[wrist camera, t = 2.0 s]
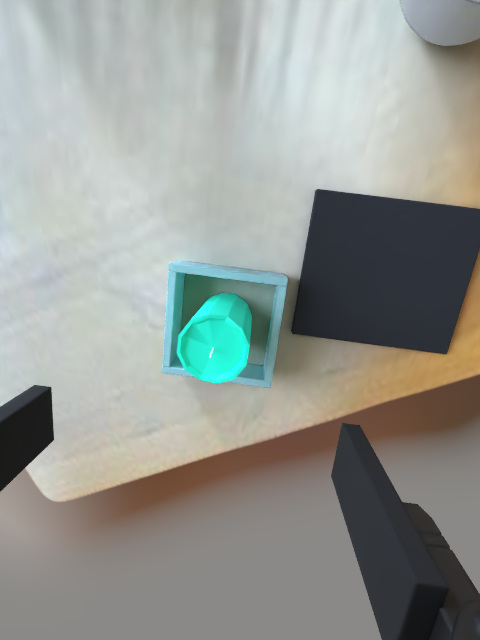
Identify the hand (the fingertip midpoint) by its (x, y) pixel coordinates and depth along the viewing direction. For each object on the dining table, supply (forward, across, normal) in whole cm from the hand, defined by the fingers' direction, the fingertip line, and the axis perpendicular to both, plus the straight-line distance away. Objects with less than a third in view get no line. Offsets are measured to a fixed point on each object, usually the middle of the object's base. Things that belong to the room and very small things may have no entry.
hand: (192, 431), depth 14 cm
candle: (+22, -1, 0) cm, 22 cm away
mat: (+22, +15, +6) cm, 27 cm away
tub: (+22, -1, 0) cm, 22 cm away
